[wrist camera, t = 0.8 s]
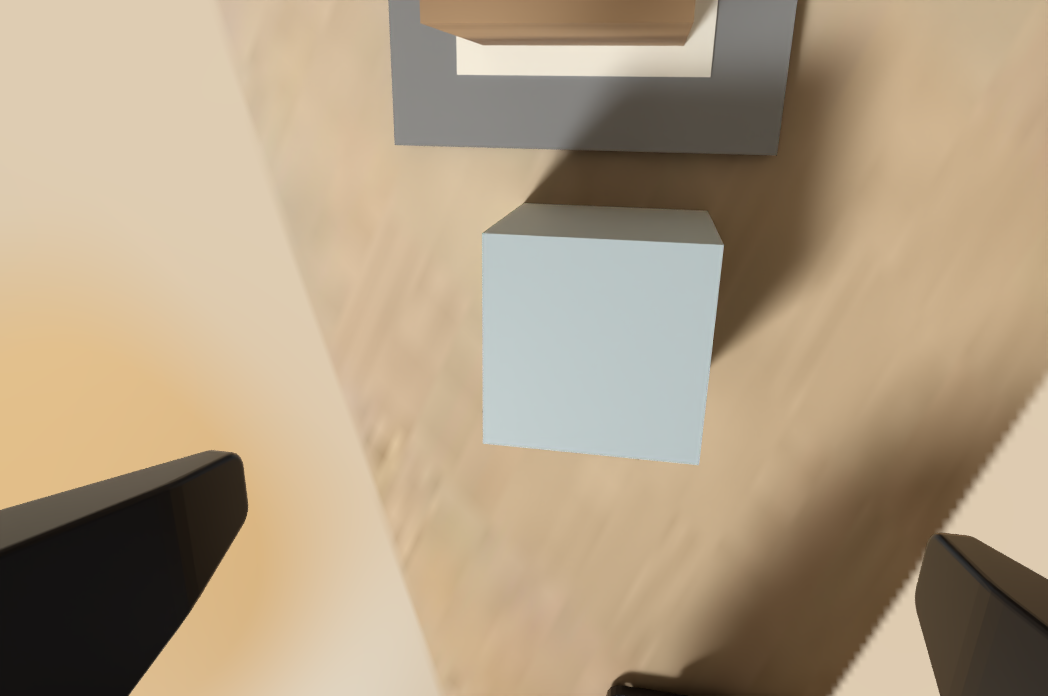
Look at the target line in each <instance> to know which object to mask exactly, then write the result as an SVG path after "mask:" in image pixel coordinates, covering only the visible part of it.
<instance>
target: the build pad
mask: <svg viewBox="0 0 1048 696" xmlns="http://www.w3.org/2000/svg"><path fill="white" fill-rule="evenodd" d="M388 1H389V24H390V46H391V69H392V92H393V115H394V137H395V145H415V146H451V147H487V148H524V149H560V150H597V151H633V152H670V153H706V154H743V155H777V151H778V143H779V136H780V128H781V121H782V113H783V106H784V98H785V90H786V83H787V75H788V68H789V60H790V53H791V45H792V37H793V30H794V22H795V15H796V7H797V0H696V2H695V13H694V23H693V25H692V28H691V30H690V32H689V35H688V37H687V40H686V42H685V44H684V46H528V45H481V44H478V43H475V42H472V41H469V40H466V39H464V38H461V37H458V36H455V35H452V34H449V33H447V32H444V31H441V30H438V29H435V28H432V27H430V26H427V25H424V24H421V23H420V0H388Z"/></svg>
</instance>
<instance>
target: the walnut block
mask: <svg viewBox="0 0 1048 696" xmlns="http://www.w3.org/2000/svg"><path fill="white" fill-rule="evenodd" d="M695 2H696V0H420V23H421V24H424V25H427V26H430V27H432V28H435V29H438V30H441V31H444V32H447V33H449V34H452V35H455V36H458V37H461V38H464V39H466V40H469V41H472V42H475V43H478V44H481V45H528V46H684V44H685V42H686V40H687V37H688V35H689V32H690V30H691V28H692V25H693V23H694V13H695Z"/></svg>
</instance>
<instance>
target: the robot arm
mask: <svg viewBox="0 0 1048 696" xmlns="http://www.w3.org/2000/svg"><path fill="white" fill-rule="evenodd" d="M247 512H248V499H247V491H246V483H245V476H244V467H243V462H242V460H241V458H240V457H239V456H238V455H237V454H236V453H232V452H224V451H214V450H211V451H205V452H202V453H198V454H195V455H191V456H188V457H184V458H181V459H177V460H174V461H170V462H167V463H163V464H160V465H156V466H153V467H149V468H146V469H143V470H139V471H135V472H132V473H128V474H125V475H121V476H118V477H114V478H111V479H107V480H104V481H100V482H97V483H93V484H90V485H86V486H83V487H79V488H76V489H72V490H69V491H65V492H62V493H58V494H55V495H51V496H48V497H45V498H41V499H37V500H34V501H30V502H27V503H23V504H20V505H16V506H13V507H9V508H6V509H2V510H0V696H129V694H130V693H131V692H132V690H133V689H134V688H135V686H136V685H137V684H138V682H139V681H140V680H141V678H142V677H143V676H144V674H145V673H146V672H147V670H148V669H149V667H150V666H151V665H152V663H153V662H154V661H155V659H156V658H157V657H158V655H159V654H160V653H161V651H162V650H163V649H164V647H165V646H166V645H167V643H168V642H169V641H170V639H171V638H172V637H173V635H174V634H175V632H176V631H177V630H178V628H179V627H180V626H181V624H182V623H183V621H184V620H185V619H186V617H187V615H188V614H189V613H190V611H191V610H192V608H193V607H194V605H195V603H196V602H197V600H198V599H199V597H200V596H201V594H202V592H203V591H204V589H205V587H206V586H207V584H208V582H209V581H210V579H211V577H212V576H213V574H214V572H215V571H216V569H217V567H218V566H219V564H220V562H221V560H222V559H223V557H224V556H225V554H226V552H227V551H228V549H229V547H230V545H231V544H232V542H233V541H234V539H235V537H236V536H237V534H238V532H239V531H240V529H241V527H242V525H243V524H244V522H245V519H246V516H247ZM915 604H916V610H917V615H918V618H919V621H920V625H921V629H922V632H923V636H924V639H925V643H926V647H927V650H928V654H929V657H930V660H931V664H932V668H933V671H934V675H935V678H936V682H937V686H938V689H939V693H940V696H1048V579H1046V578H1044V577H1043V576H1041V575H1039V574H1037V573H1035V572H1034V571H1032V570H1030V569H1028V568H1027V567H1025V566H1023V565H1021V564H1020V563H1018V562H1016V561H1014V560H1013V559H1011V558H1009V557H1007V556H1006V555H1004V554H1002V553H1000V552H998V551H997V550H995V549H993V548H992V547H990V546H988V545H986V544H984V543H983V542H981V541H979V540H977V539H976V538H974V537H971V536H966V535H958V534H949V533H935V534H933V535H932V536H931V537H930V539H929V541H928V543H927V546H926V550H925V554H924V558H923V562H922V566H921V570H920V574H919V578H918V582H917V587H916V593H915ZM606 696H686V695H680V694H673V693H667V692H660V691H654V690H647V689H641V688H634V687H628V686H614V687H611V688H610V689H609V690H608V692H607V695H606Z"/></svg>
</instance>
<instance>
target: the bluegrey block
mask: <svg viewBox="0 0 1048 696" xmlns="http://www.w3.org/2000/svg"><path fill="white" fill-rule="evenodd" d="M723 249H724V244H723V242H722V240H721V238H720V236H719V234H718V232H717V230H716V227H715V225H714V223H713V221H712V219H711V217H710V215H709V213H708V211H704V210H680V209H656V208H632V207H607V206H583V205H559V204H535V203H523V204H522V205H520V206H519V207H518V208H516V209H515V210H513V211H512V212H511V213H509V214H508V215H507V216H505V217H504V218H502V219H501V220H500V221H498V222H497V223H496V224H494V225H493V226H491V227H490V228H489V229H487V230H486V231H485V232H483V233H482V308H483V444H493V445H503V446H513V447H523V448H533V449H543V450H553V451H563V452H573V453H583V454H593V455H603V456H613V457H623V458H633V459H643V460H653V461H663V462H673V463H683V464H693V465H699V460H700V451H701V443H702V434H703V425H704V416H705V407H706V399H707V390H708V381H709V372H710V363H711V354H712V346H713V337H714V328H715V319H716V310H717V302H718V293H719V284H720V275H721V266H722V257H723Z"/></svg>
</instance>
